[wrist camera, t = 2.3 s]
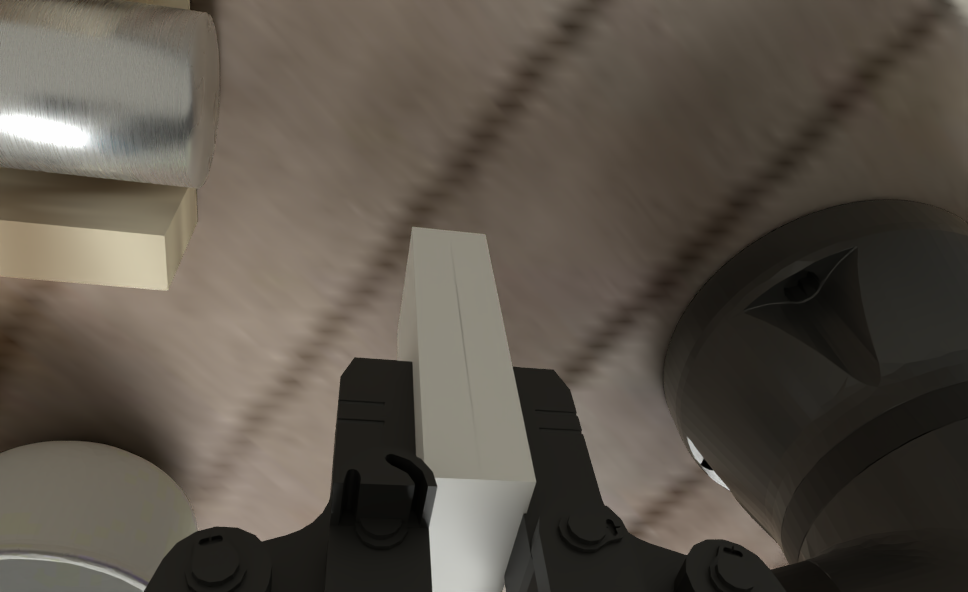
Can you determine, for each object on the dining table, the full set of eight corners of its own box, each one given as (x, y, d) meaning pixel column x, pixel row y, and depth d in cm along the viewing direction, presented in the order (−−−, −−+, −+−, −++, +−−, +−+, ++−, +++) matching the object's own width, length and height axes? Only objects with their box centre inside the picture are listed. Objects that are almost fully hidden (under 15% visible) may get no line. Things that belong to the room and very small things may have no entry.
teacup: (-45, 384, 31) (-163, 550, 24) (233, 421, 33) (194, 581, 27) (-23, 591, 38) (-109, 762, 31) (204, 609, 41) (168, 770, 34)
